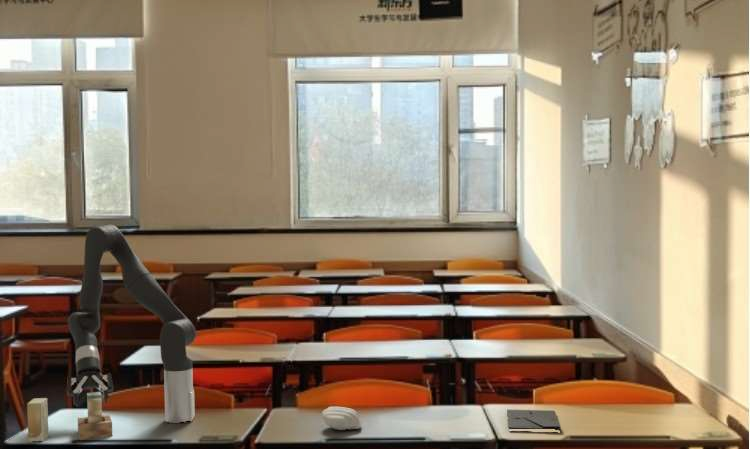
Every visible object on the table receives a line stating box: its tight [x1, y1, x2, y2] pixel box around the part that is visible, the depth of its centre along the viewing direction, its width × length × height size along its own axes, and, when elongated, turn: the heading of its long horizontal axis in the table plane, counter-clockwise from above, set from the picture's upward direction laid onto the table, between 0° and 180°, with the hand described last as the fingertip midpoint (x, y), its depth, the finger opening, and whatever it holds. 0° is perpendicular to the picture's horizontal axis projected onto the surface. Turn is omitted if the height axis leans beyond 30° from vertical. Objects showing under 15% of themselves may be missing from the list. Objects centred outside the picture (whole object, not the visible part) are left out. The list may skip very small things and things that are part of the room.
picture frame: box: [506, 409, 561, 431], centre depth 257 cm, size 16×3×21 cm
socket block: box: [77, 414, 113, 441], centre depth 252 cm, size 10×10×4 cm
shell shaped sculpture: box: [321, 406, 363, 431], centre depth 253 cm, size 13×13×6 cm
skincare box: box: [26, 397, 50, 442], centre depth 246 cm, size 6×4×12 cm
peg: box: [86, 391, 103, 423], centre depth 252 cm, size 4×4×12 cm
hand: (91, 403), depth 259 cm, fingers open, 8 cm apart
